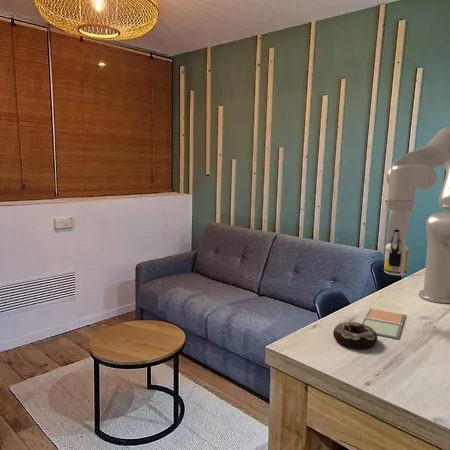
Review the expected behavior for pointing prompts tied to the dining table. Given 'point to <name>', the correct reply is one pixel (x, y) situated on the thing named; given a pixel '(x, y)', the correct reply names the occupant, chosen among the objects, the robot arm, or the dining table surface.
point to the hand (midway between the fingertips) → (395, 263)
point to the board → (384, 323)
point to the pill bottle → (403, 264)
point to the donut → (355, 335)
